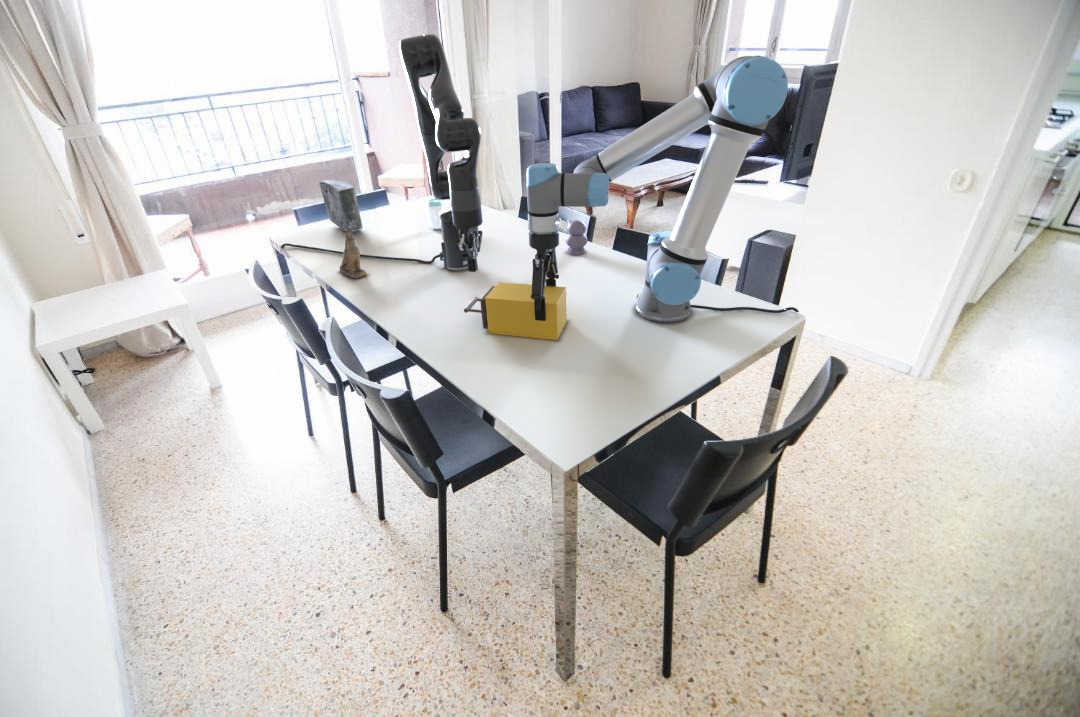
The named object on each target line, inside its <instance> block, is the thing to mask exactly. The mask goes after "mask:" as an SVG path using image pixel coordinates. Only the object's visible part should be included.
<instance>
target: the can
mask: <svg viewBox="0 0 1080 717" xmlns="http://www.w3.org/2000/svg"><path fill="white" fill-rule="evenodd" d="M426 207H427V211H428V212H427V213H428V219H429V226H430V228H431V229H433V230H442V229H441V223H440V212H441V211H442V210H444V209H445V205H444V202H443V200H437V199H435V198H432V199H428V201H427V204H426Z"/></svg>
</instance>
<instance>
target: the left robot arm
mask: <svg viewBox="0 0 1080 717" xmlns="http://www.w3.org/2000/svg"><path fill="white" fill-rule="evenodd" d="M398 47H399V55H400V59H401V63H402V64H401V65H402V68H403V71H404V74H405V77H406V81H407V84H408V89H409V92H410V95H411V99H412V103H413V108H414V113H415V118H416V124H417V128H418V133H419V137H420V141H421V145H422V149H423V152H424V156H425V159H426V166H427V172H428V179H429V185H430V189H431V194H432V196H433V199H437V200H441V201H450V206H449V207H447V208H444V210H442V211H441V212H440V223H441V229H440V230H441V235H442V242H441V243H440V246H441V252H439V253H438V254H437V255H434V256H433V257H432V259H431V260H422V259H418V258H408V257H396V256H395V257H393V256H380V255H371V254H370V255H369V254H361V253H360V258H368V259H379V260H390V261H391V260H392V261H403V262H417V263H421V264H429V265H431V264H433V263H434V262H435V261H436V259H438V258H439V262H443V267H444V269H445V270H449V271H454V272H459V271H467V270H468V272H470V273H477V271H478V269H479V268H478V266H479V265H478V258H477V257H479V256H478V255H479V253H480V252H481V247H482V240H483V234H484V232H483V230H480V229H479V226H481V225H482V224H483V223H484V222H483V221H484V220H483V211H482V201H481V200H482V199H481V193H480V189H479V180H478V158H479V152H480V146H481V141H482V131H481V128H480V127H481V126H480V125H479V123H478V122H477V120H476V119H474V118H472V117H465V116H464V115H465V112H464V109H463V106H462V104H461V101H460V98H459V96H458V95H457V93H456V90H455V87H454V84H453V78H452V74H451V70H450V66H449V63H448V60H447V56H446V52H445V50H444V46H443V44H442V42H441V39H440V38H439V37H438V35H437V34H435V33H426V34H419V35H415V36H410V37H405V38H403V39H401V40H400V41H399V46H398ZM433 76H434V78H433V80H432V82H431V84H430V86H429V90H428V91H427V90H426V89H425V88H424V86H423V85H422V84H421V82H420V79H422V78H427V77H433ZM464 151H465V153H464V155H463V157H462V158H461V159H459V160H456V161H452V162H451V163H449V164H448V166H447V170H439V169H440V166H441V162H442V160H443V158H444V157H445V155H446V153H457V152H464ZM285 247H292V248H300V249H307V250H314V251H318V252H319V251H320V252H326V253H332V254H339V255H343V253H344V251H339V250H334V249H327V248H321V247H314V246H308V245H302V244H292V243H289V242H288V243H283V244H282V245H281V246H280V248H281V249H282V248H285Z"/></svg>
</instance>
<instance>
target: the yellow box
mask: <svg viewBox="0 0 1080 717" xmlns="http://www.w3.org/2000/svg"><path fill="white" fill-rule="evenodd" d="M494 286H495V287H494V288H493V289H492V291H491V292H490V293H489V294H488V295H487V296H486V298H485V302H486V312H487V322H488V329H487V331H488V334H493V335H502V336H512V337H520V338H521V337H522V338H531V339H543V340H553V341H558V340H559V338H560V336H561V333H562V332H563V330H564V327H565V325H566V323H567V287H566V286H557V285H556V286H546V285H545V291H544V297H545V309H546V320H545V321H540V320H535V305H534V299H532V298H531V295H532V284H528V283H515V282H503V281H498V282H497V284H496V285H494Z"/></svg>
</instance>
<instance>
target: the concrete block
mask: <svg viewBox="0 0 1080 717" xmlns="http://www.w3.org/2000/svg"><path fill="white" fill-rule="evenodd" d="M318 185H319V187H320V192H321V195H322V199H323V202H324V206H325V209H326V214H327V217H328V219H329V221H330V222H331V223H333V224H334V225H336V226H337V228H339V229H341V231H344V233H345V232H346V231H348V230H350V231H352V233H353V232H355V231H360V230H362V229H363V222H362V219H361V218H362V217H361V213H360V209H359V205H358V198H357V193H356V190H355V187H354V185H352V184H350V183H349V182H346V181H344V180H340V179H337V178H335V179H334V178H333V179H325V180H322V181H319V184H318Z"/></svg>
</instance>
